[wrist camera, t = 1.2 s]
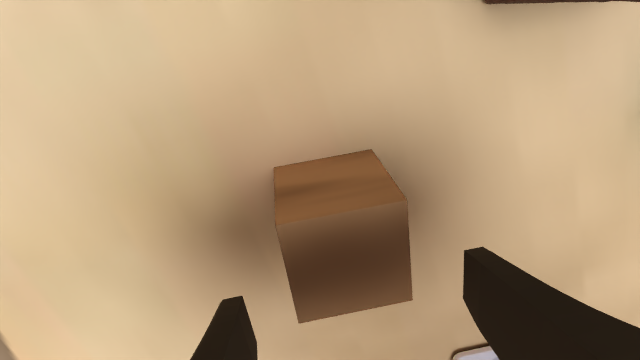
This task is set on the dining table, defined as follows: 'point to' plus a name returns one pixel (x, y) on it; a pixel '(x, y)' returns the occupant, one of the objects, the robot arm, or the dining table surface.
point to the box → (547, 1)
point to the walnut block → (342, 235)
